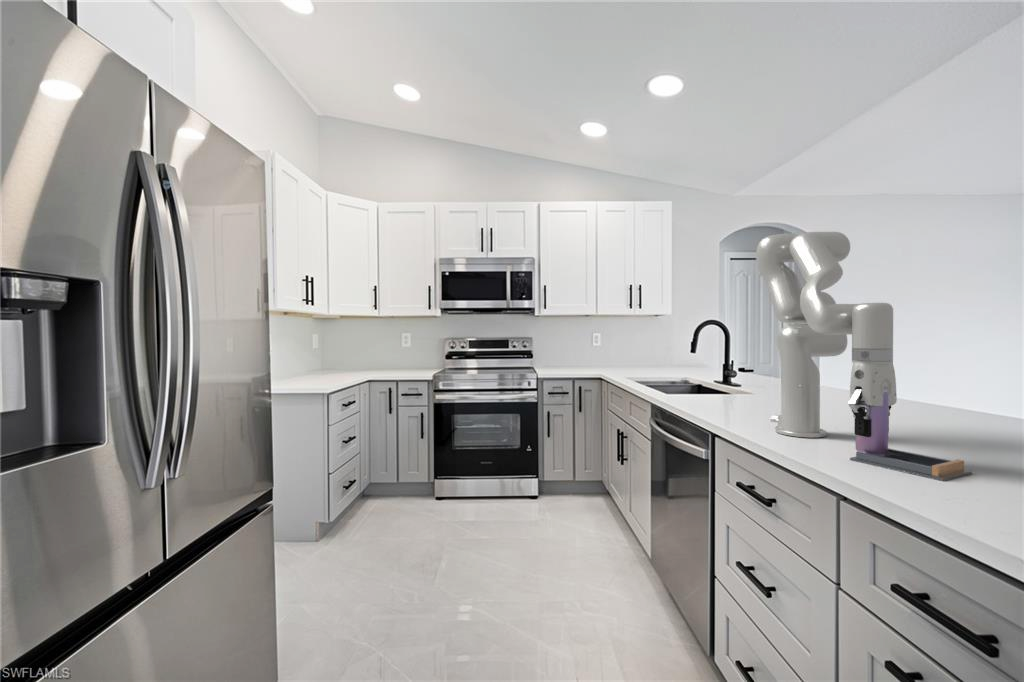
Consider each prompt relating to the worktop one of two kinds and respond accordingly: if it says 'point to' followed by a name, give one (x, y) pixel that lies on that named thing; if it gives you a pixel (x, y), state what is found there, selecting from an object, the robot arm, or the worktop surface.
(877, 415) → the beverage can
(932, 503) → the worktop surface
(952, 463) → the dock
